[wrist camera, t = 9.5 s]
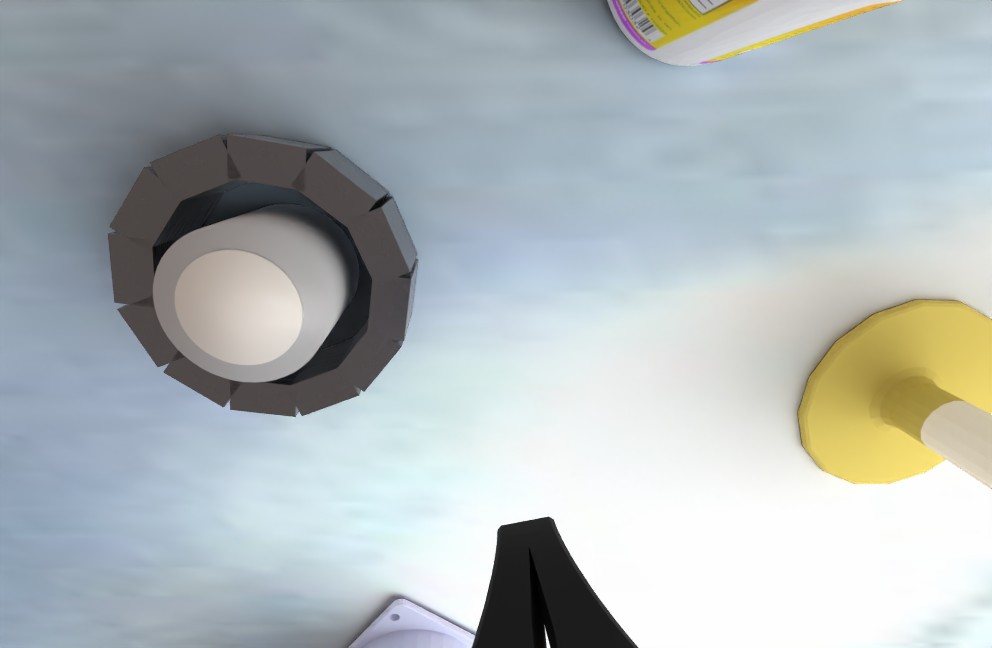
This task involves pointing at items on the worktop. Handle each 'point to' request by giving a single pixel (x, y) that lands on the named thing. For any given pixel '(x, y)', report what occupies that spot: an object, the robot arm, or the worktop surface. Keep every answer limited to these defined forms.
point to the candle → (903, 396)
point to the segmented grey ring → (186, 206)
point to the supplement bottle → (724, 24)
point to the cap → (256, 291)
